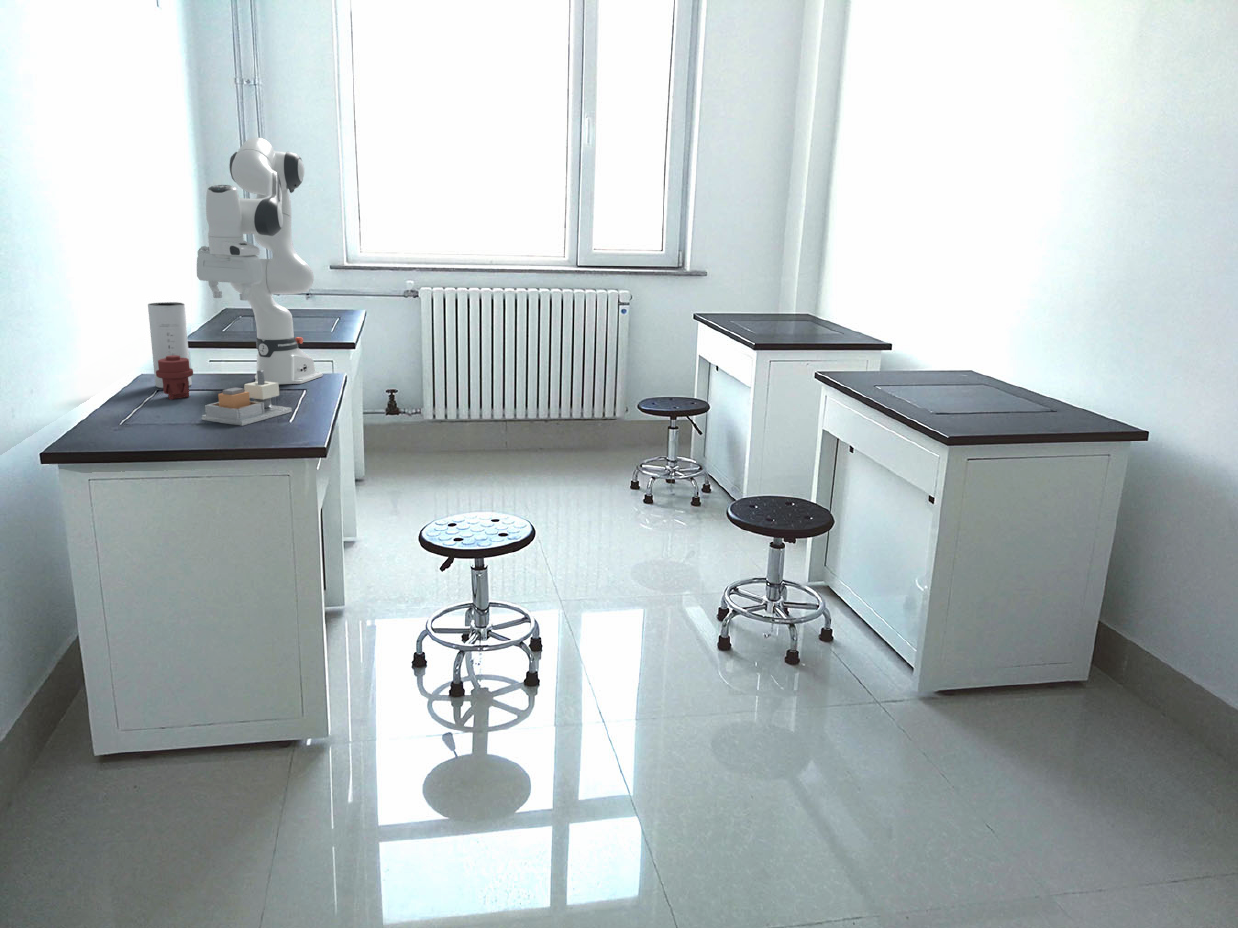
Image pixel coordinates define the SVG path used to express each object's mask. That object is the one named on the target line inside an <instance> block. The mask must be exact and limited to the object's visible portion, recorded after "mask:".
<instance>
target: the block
mask: <svg viewBox="0 0 1238 928" xmlns="http://www.w3.org/2000/svg"><path fill="white" fill-rule="evenodd" d="M217 398H218V402H219V406H222V407H229V408H236V409H237V408H241V407H244V406H248V405H250V401H251V400H250V399H251V398H249V392H245V390H244V388H241V387H237V386H235V387H231V388H226V389H222V392H221V393H218V395H217Z"/></svg>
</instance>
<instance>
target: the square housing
mask: <svg viewBox="0 0 1238 928" xmlns="http://www.w3.org/2000/svg"><path fill="white" fill-rule="evenodd" d="M279 386H280V384H279V383H275V382H267V381H265V384H264V385H258V381H257V382H255V381H253V382H248V383H245V384H244V385H243V387H244V388H243V389H244V391H245V392H249V398H250V399H254V398H255V399H267V398H271V399H272V398H275V397H278V396H280V387H279Z"/></svg>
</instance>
